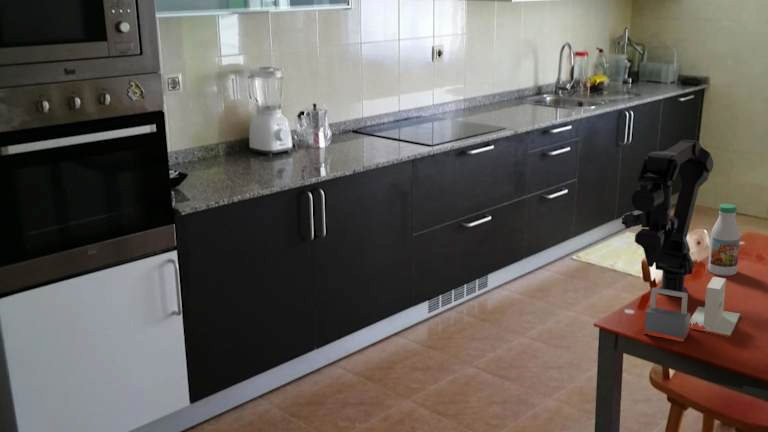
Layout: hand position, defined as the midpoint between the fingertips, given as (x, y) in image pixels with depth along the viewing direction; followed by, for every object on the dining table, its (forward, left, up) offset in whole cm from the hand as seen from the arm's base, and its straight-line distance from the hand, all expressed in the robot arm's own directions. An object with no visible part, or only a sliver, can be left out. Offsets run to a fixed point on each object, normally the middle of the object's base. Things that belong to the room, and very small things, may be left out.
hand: (654, 261), depth 202 cm
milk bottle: (-36, +11, -13) cm, 40 cm away
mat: (+2, +16, -13) cm, 20 cm away
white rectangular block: (+2, +16, -12) cm, 20 cm away
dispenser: (+14, +7, -13) cm, 20 cm away
